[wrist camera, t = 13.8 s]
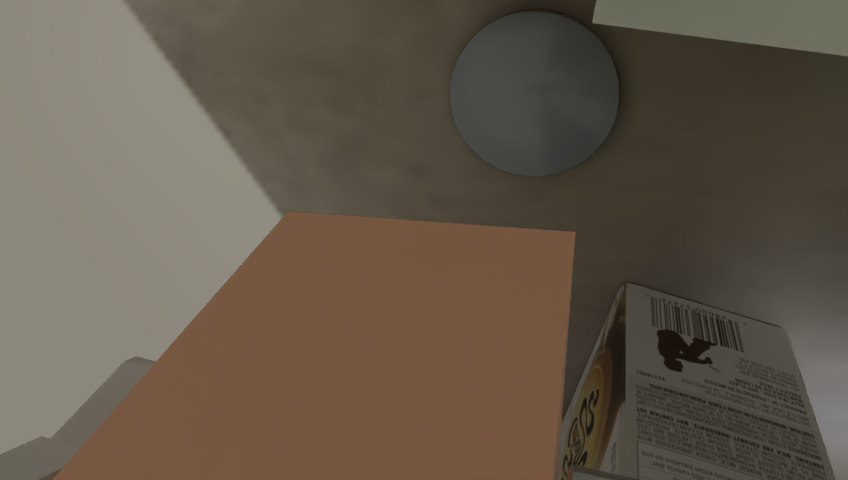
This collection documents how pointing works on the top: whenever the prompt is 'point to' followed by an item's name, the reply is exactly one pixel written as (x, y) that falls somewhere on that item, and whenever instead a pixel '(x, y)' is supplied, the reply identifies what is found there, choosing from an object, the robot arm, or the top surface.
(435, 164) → the top surface
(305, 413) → the terracotta block
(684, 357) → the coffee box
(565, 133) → the slate coaster
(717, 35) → the sliding lid
